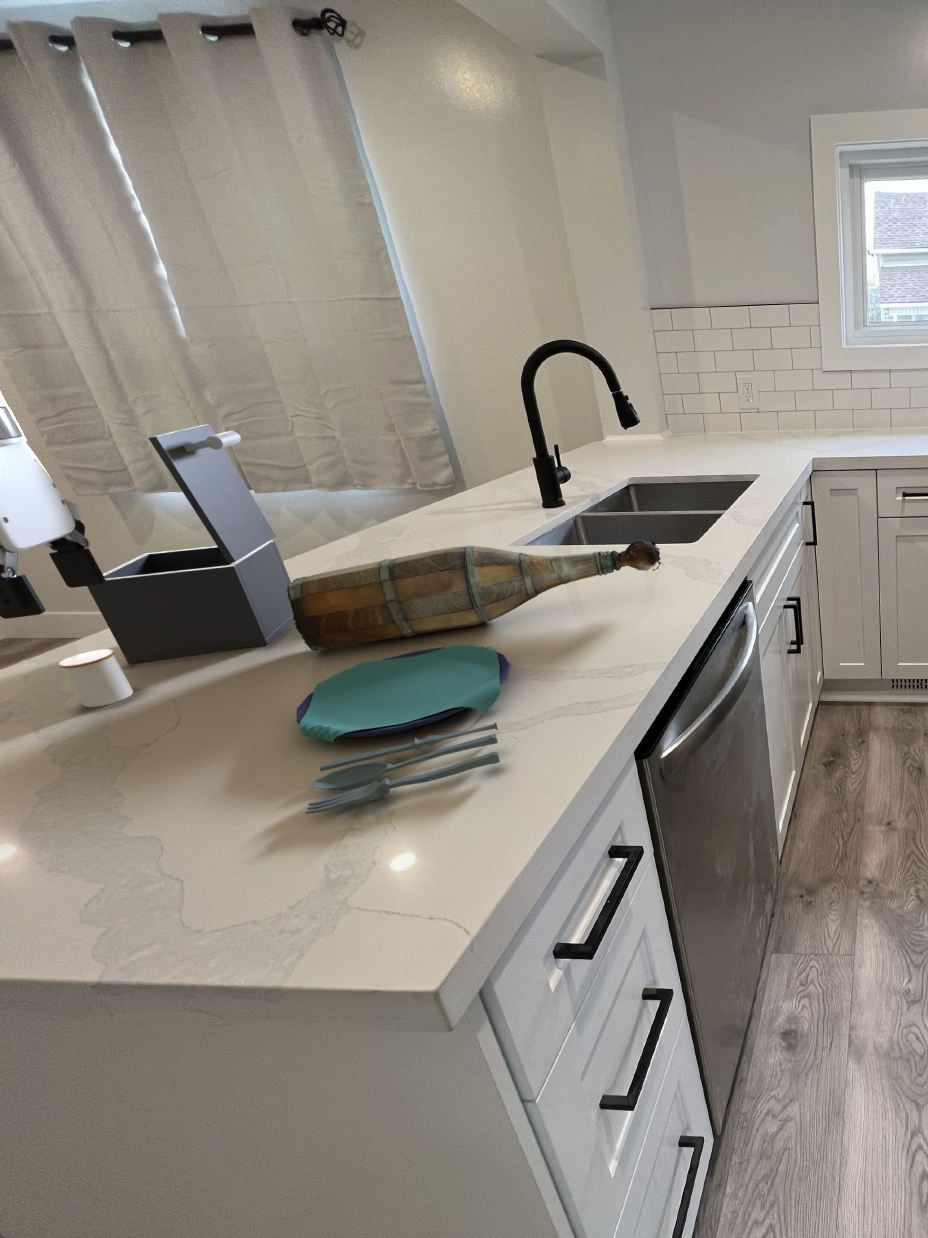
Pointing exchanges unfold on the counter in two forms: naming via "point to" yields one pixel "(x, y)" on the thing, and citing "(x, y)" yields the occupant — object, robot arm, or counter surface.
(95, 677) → the white cylinder
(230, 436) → the lid
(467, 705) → the cutlery set
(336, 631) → the decorative bottle
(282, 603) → the dark grey lidded box
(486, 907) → the counter surface
